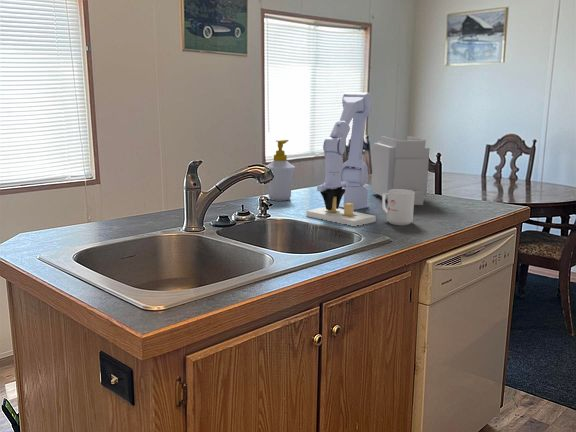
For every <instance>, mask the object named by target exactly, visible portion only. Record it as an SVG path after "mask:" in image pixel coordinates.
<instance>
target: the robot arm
mask: <svg viewBox="0 0 576 432" xmlns="http://www.w3.org/2000/svg"><path fill="white" fill-rule="evenodd" d="M371 95H372V94H370V92H367V91H366V92H348V91H346V92H344V94H343V96H342V99H341V103H342V113H341V116H340V118H339V120H337V121H336V122H335V123H334V125H333V128H332V130H331V132H330V134H329V137H327V138H325V139H324V141H323V145H322V150H323V156H324V159H325V167H324V168H325V172H324V173H325V175H324V177H325V178H324V182H323V183H322V184H318V185H317V186H316V191H317V192H320V195H321V196H322V199H323V202H324V207H326V210H332V203H333V197H334V196H336V197H337V200H336V209H338V208H339V209H344V204H345V203H353V204H354V207H353V211H356V210H360V209H367V208H369V205H368V193H369V191H368V188H367V186H366V184H367V182H368V178H369V173H368V169H369V168H368V167H369V166H368V165H367V164H366V163H365V162H364V161H363V159H362V156H363V149H364V139H365V131H366V121H367V117H369V116H371V113H372V112H371V111H372V96H371ZM351 122H352V125H351V127H350V123H351ZM350 131H351V134H350V133H349V132H350ZM349 134H350V144H349V152H348V159H347V160H346V161H345V162H343V154H344V153H345V151H346V144H347V137H348V136H349ZM342 198H343V204H342V205H340V204H341V201H342Z"/></svg>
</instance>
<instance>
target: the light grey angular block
mask: <svg viewBox="0 0 576 432" xmlns="http://www.w3.org/2000/svg"><path fill="white" fill-rule="evenodd" d="M426 141H427V140H426V139H424V138H421V137H420V138H419V137H415V136H410V135H409V136H408V135H407V136H406V140H398V139H396V138H391V137H387V136H384V135H381V136H380V141H379V140H378V141H377V142H373V149H372V167H371V168H372V170H371V172H372V173H371V188H370V189H371V190H370V191H372V192H373V193H376V194H377V195H379V196H381V198H382V193H388V191H389V190H392V189H405V190H411V191H414V192H415V196H414V206H424V201H425V200H424V199H425V198H424V197H427V191H428V190H427V189H428V177H429V165H430V163H429V161H430V150H431V149H430V147H427V146H426V143H427V142H426ZM385 201H387V202H388V194H386V195H385Z"/></svg>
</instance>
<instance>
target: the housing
mask: <svg viewBox="0 0 576 432" xmlns="http://www.w3.org/2000/svg"><path fill="white" fill-rule="evenodd" d="M305 215H306V217H309V218H314V219H317V220H321V219H323V220H322V221H326V220H327V221H326V222H330V221H332V222H331V223H335V222H337V223H336V224H339V223H342V224H341V225H343V224H347V225H346V226H348V225H351V226H350V227H352V226H355V227H358V226H357V225H359V226H364V225H367V224H372V223H375V222H376V220H377V216H376V215H372V214H367V213H363V212H358V211H353V217H347V216H344V208H340V207H339V208H338V209H336V213H329V212H327V210H326V207H325V206H324V207H323V206H322V207H319V208H313V209H309V210H308V209H307V210H306V214H305ZM363 224H364V225H363Z"/></svg>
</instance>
